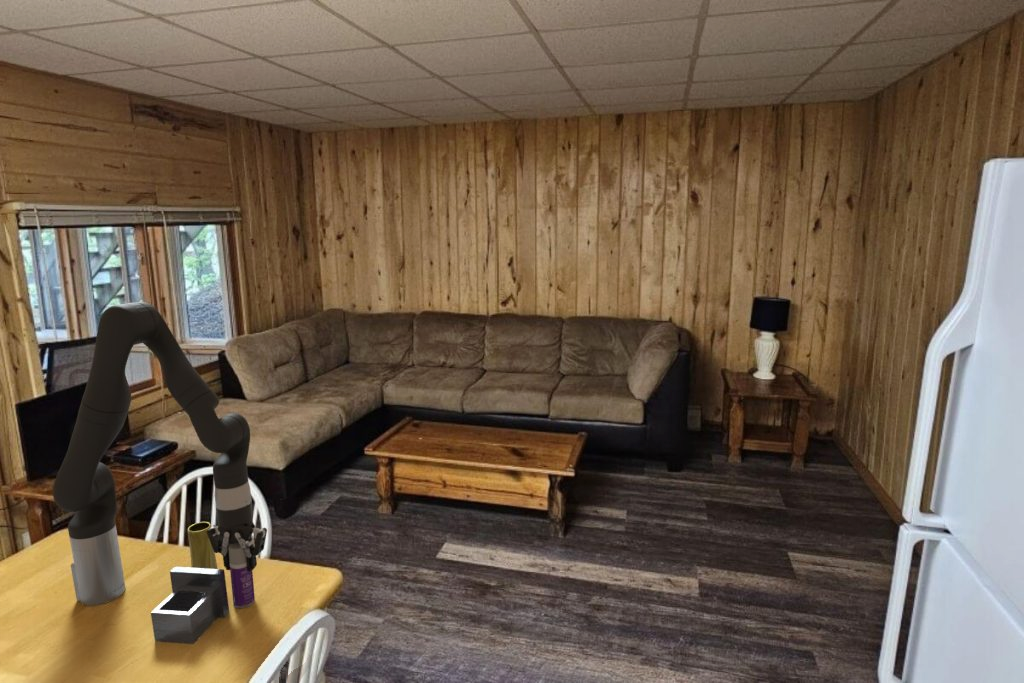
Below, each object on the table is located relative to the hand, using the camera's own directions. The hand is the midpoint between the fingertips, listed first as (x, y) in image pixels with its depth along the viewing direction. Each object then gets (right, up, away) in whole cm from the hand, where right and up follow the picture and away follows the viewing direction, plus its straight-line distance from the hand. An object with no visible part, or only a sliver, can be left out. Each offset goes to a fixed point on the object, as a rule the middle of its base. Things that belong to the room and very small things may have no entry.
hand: (240, 568), depth 144 cm
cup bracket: (-9, -11, -6) cm, 15 cm away
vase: (-14, -7, +13) cm, 20 cm away
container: (0, -9, +2) cm, 9 cm away
